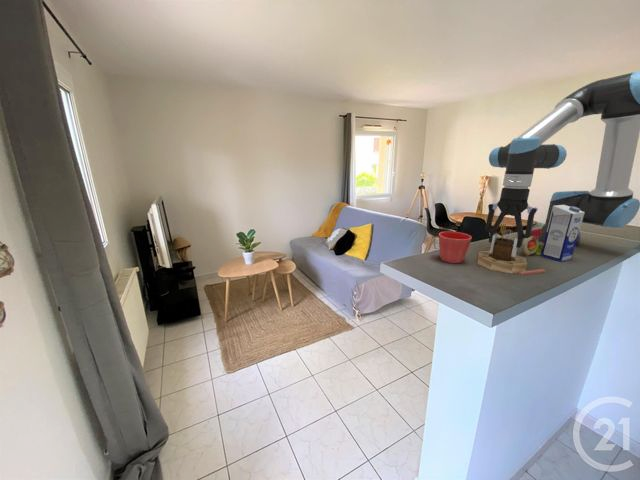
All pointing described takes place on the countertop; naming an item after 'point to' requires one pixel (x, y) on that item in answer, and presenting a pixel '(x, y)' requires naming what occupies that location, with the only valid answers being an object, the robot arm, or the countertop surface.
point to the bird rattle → (532, 243)
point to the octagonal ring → (502, 263)
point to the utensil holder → (503, 247)
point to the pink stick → (532, 272)
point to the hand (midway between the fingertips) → (502, 253)
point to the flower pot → (453, 246)
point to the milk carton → (562, 232)
